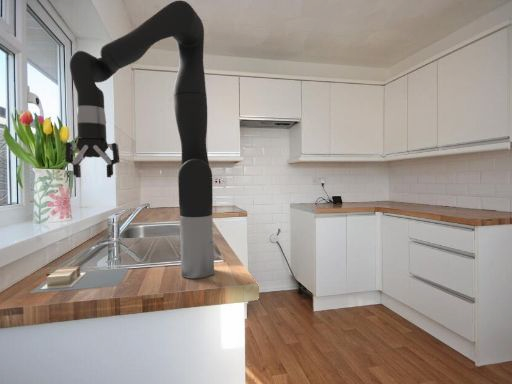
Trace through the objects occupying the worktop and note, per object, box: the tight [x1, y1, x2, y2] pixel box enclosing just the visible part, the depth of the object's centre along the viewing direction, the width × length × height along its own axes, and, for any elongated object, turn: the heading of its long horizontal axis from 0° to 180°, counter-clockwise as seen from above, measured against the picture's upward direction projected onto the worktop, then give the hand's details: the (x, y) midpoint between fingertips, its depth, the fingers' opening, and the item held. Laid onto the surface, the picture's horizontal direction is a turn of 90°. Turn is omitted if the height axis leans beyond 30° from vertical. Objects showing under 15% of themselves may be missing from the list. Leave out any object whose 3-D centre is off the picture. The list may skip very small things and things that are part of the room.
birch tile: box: [46, 265, 81, 286], centre depth 79 cm, size 8×5×2 cm, turn 13°
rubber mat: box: [29, 267, 130, 294], centre depth 80 cm, size 20×15×1 cm
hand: (93, 177), depth 89 cm, fingers open, 8 cm apart
